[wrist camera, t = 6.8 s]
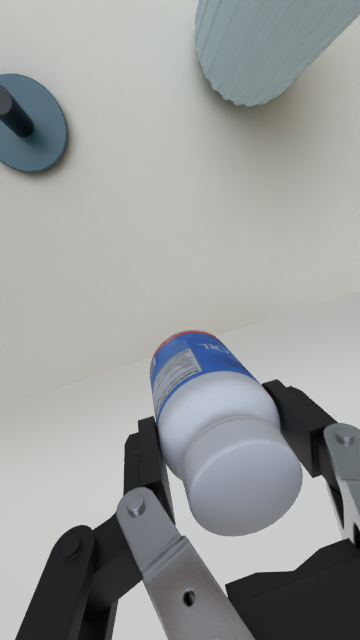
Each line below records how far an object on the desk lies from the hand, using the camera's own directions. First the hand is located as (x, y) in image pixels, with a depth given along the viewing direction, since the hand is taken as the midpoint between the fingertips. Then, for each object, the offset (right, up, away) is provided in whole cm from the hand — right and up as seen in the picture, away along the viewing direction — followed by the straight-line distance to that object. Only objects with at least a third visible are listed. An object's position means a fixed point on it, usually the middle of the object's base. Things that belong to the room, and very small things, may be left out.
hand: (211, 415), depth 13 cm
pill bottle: (-1, +2, +5) cm, 6 cm away
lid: (-17, +24, +14) cm, 33 cm away
